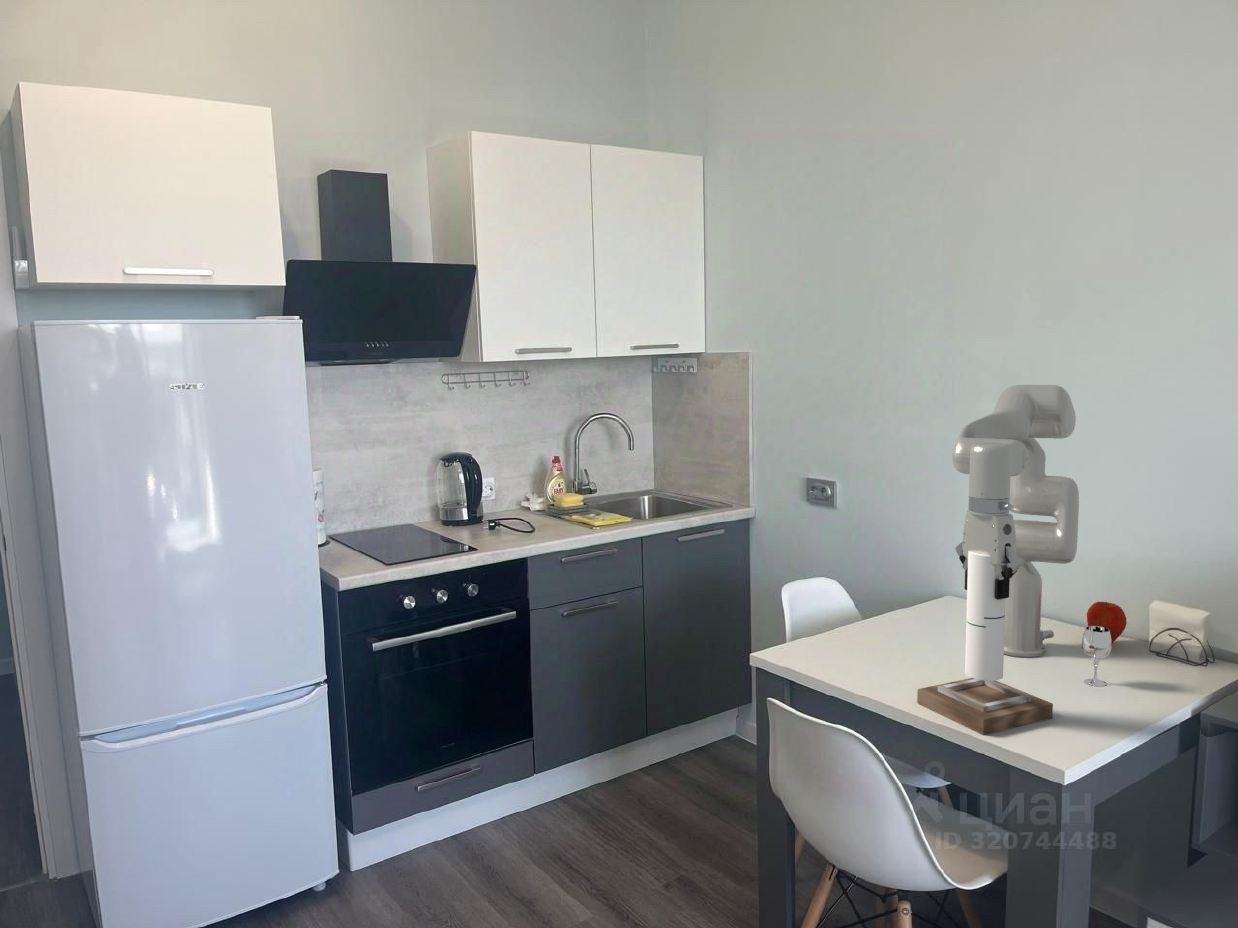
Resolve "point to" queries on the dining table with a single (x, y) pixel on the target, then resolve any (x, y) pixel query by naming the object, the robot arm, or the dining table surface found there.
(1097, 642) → the wineglass
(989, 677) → the cylindrical container
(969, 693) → the walnut base
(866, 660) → the dining table surface
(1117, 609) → the apple
